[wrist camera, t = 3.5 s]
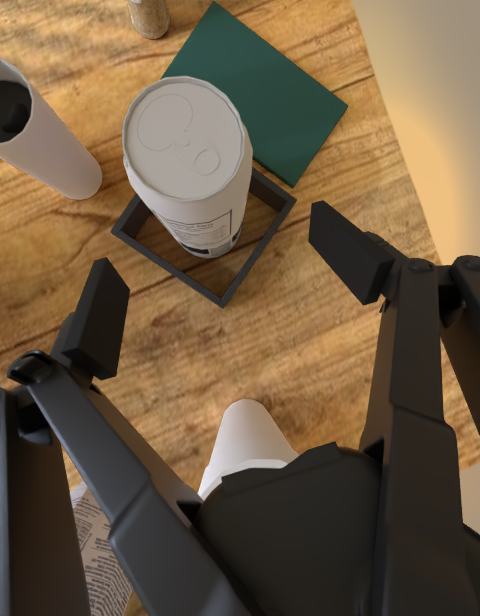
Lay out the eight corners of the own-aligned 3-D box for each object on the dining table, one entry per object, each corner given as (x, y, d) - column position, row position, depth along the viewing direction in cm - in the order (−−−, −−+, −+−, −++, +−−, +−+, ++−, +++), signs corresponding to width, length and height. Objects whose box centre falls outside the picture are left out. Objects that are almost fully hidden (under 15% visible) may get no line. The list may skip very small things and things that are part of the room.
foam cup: (196, 437, 29) (169, 551, 16) (231, 374, 29) (234, 436, 16) (260, 469, 29) (286, 606, 16) (294, 408, 29) (348, 495, 16)
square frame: (124, 240, 27) (109, 231, 24) (191, 141, 27) (186, 118, 24) (223, 307, 28) (223, 308, 25) (288, 212, 28) (297, 199, 25)
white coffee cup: (103, 146, 27) (29, 54, 17) (108, 202, 27) (38, 145, 17) (45, 147, 26) (-66, 55, 16) (51, 205, 27) (-55, 148, 17)
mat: (157, 89, 27) (156, 84, 26) (213, 6, 27) (213, 0, 26) (292, 188, 28) (293, 186, 27) (346, 109, 28) (348, 105, 28)
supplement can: (160, 227, 27) (79, 140, 12) (206, 178, 27) (179, 33, 12) (209, 272, 28) (188, 241, 13) (254, 224, 28) (284, 137, 13)
